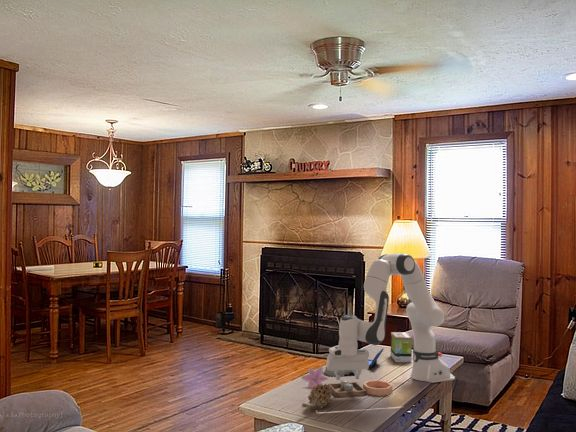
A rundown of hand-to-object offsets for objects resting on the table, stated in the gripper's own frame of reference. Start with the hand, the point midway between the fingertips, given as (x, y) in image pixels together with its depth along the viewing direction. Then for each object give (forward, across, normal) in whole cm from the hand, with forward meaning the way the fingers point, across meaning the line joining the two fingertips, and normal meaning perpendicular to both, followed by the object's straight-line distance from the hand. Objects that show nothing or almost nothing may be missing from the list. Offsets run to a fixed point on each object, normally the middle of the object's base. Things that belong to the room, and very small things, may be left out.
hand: (347, 379), depth 247 cm
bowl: (+7, -16, -1) cm, 17 cm away
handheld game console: (+7, -28, -47) cm, 55 cm away
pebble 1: (+7, -1, -6) cm, 9 cm away
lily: (+8, +12, -14) cm, 20 cm away
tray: (+8, -1, -3) cm, 8 cm away
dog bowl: (+8, -8, -37) cm, 39 cm away
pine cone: (+8, +19, +16) cm, 26 cm away
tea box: (+7, -51, -56) cm, 76 cm away
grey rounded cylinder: (+7, -1, 0) cm, 7 cm away
